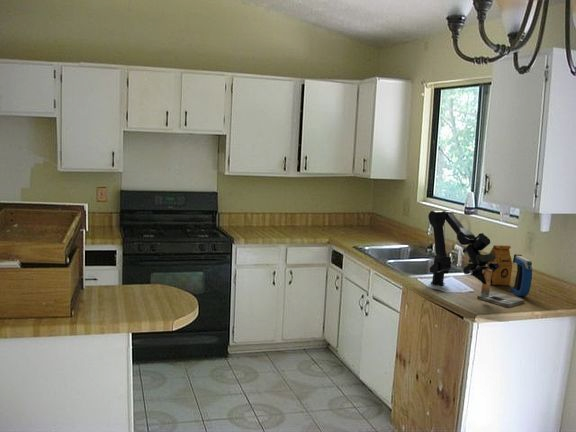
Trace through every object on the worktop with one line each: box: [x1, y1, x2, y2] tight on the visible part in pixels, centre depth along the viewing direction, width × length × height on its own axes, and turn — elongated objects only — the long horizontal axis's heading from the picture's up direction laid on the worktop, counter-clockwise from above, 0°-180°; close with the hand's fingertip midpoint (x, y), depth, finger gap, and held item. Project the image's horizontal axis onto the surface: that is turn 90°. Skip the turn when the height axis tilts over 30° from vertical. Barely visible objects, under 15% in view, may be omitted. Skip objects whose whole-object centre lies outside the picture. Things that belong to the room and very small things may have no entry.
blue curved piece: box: [509, 253, 533, 297], centre depth 303 cm, size 5×16×20 cm, turn 2°
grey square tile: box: [476, 291, 525, 308], centre depth 290 cm, size 16×16×2 cm
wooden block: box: [480, 269, 492, 297], centre depth 281 cm, size 4×4×13 cm
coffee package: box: [486, 244, 513, 286], centre depth 322 cm, size 10×12×22 cm
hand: (488, 283), depth 280 cm, fingers closed on wooden block, 4 cm apart
